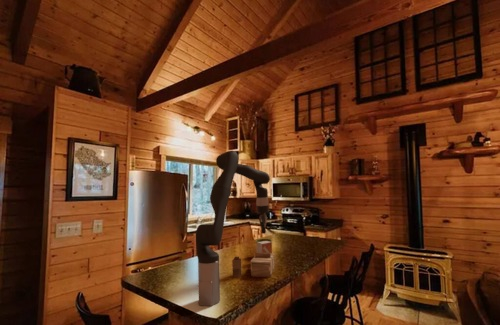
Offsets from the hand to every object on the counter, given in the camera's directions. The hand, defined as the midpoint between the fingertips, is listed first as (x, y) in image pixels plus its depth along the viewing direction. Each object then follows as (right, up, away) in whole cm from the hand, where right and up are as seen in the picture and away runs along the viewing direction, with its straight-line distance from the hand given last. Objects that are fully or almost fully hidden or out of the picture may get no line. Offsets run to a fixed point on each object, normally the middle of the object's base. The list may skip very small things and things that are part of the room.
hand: (263, 233), depth 160 cm
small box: (+1, -22, +11) cm, 25 cm away
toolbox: (-1, -20, -8) cm, 22 cm away
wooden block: (-16, -20, -14) cm, 29 cm away
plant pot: (+2, -24, +26) cm, 36 cm away
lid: (-1, -13, -7) cm, 15 cm away
